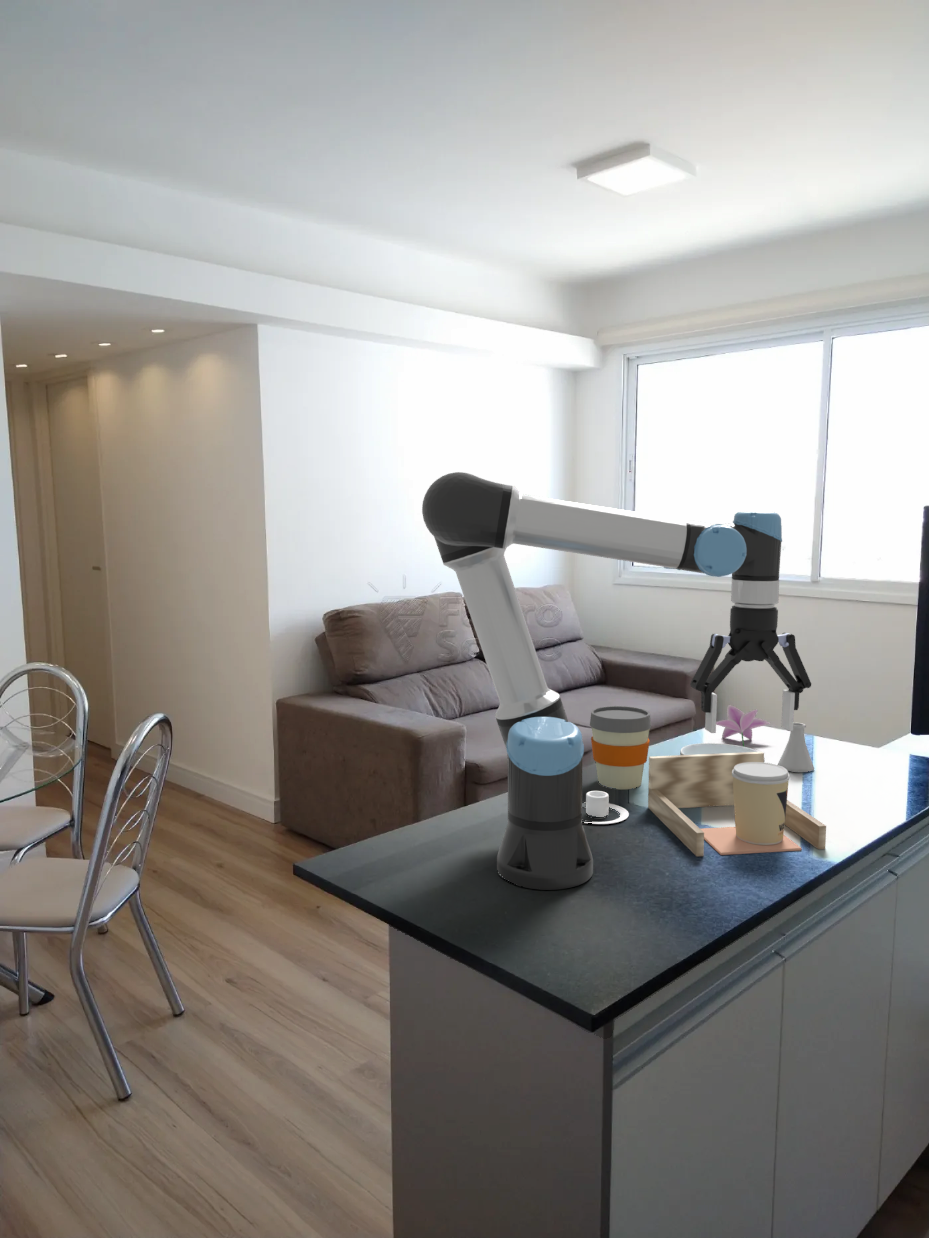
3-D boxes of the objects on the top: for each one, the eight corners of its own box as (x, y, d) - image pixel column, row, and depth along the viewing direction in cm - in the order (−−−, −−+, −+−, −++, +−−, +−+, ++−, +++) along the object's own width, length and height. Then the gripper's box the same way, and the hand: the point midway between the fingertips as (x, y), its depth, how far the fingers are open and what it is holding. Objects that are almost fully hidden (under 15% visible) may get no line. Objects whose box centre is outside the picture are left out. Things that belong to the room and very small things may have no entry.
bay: (696, 856, 143) (697, 797, 142) (648, 807, 167) (648, 756, 166) (825, 848, 146) (827, 790, 144) (759, 801, 169) (761, 751, 168)
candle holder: (575, 830, 156) (575, 806, 156) (556, 808, 168) (556, 786, 168) (638, 825, 159) (639, 802, 158) (615, 803, 170) (615, 782, 170)
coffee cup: (792, 848, 145) (794, 778, 143) (734, 845, 146) (735, 776, 145) (783, 828, 154) (784, 762, 152) (728, 826, 155) (729, 760, 154)
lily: (776, 748, 211) (770, 710, 215) (760, 739, 202) (753, 699, 206) (729, 756, 218) (723, 719, 221) (711, 748, 209) (705, 709, 213)
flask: (771, 765, 193) (772, 721, 192) (798, 762, 196) (800, 719, 194) (793, 775, 187) (795, 729, 185) (820, 771, 189) (822, 726, 188)
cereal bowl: (769, 801, 170) (771, 766, 169) (682, 797, 173) (682, 762, 172) (756, 775, 187) (757, 743, 186) (677, 772, 190) (677, 740, 189)
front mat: (721, 854, 143) (721, 852, 143) (695, 831, 154) (695, 828, 154) (801, 850, 145) (801, 847, 145) (770, 826, 156) (770, 824, 156)
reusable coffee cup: (660, 789, 177) (661, 717, 176) (601, 794, 175) (602, 721, 173) (636, 771, 190) (637, 704, 188) (581, 775, 187) (581, 707, 185)
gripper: (813, 602, 150) (807, 722, 153) (673, 603, 147) (669, 726, 150) (837, 606, 143) (830, 733, 145) (690, 608, 140) (686, 737, 142)
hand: (748, 730), depth 147 cm, fingers open, 13 cm apart
